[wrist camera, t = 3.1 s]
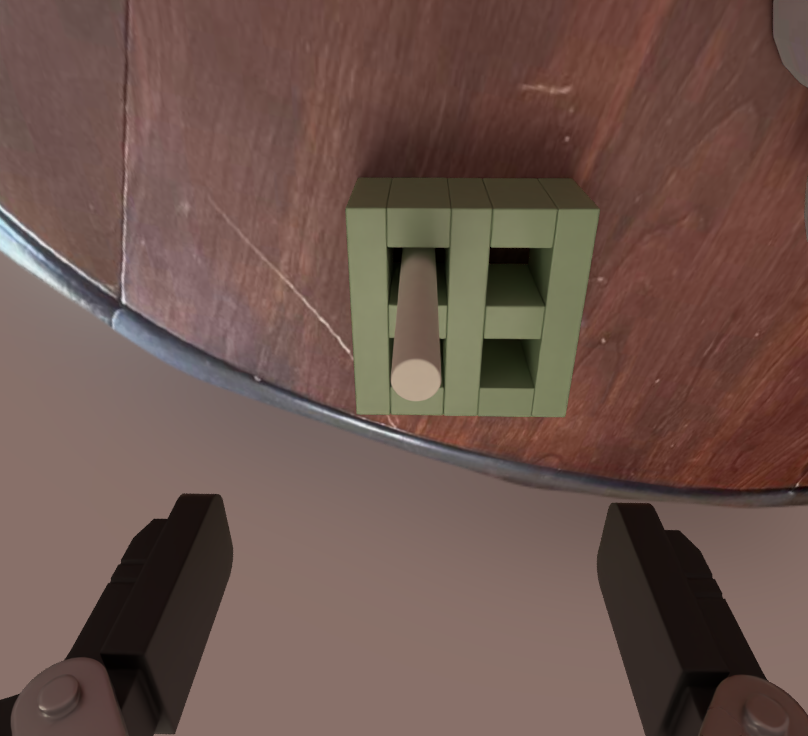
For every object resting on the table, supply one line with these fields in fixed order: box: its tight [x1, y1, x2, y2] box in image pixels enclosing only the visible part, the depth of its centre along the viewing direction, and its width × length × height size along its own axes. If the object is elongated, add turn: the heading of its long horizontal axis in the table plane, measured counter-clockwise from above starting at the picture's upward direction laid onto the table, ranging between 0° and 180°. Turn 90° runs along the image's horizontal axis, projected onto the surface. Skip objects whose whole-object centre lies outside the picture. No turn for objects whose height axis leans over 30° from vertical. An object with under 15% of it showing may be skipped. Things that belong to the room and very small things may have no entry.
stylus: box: [391, 247, 441, 401], centre depth 23 cm, size 2×2×13 cm
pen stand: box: [345, 178, 600, 417], centre depth 27 cm, size 10×10×5 cm
